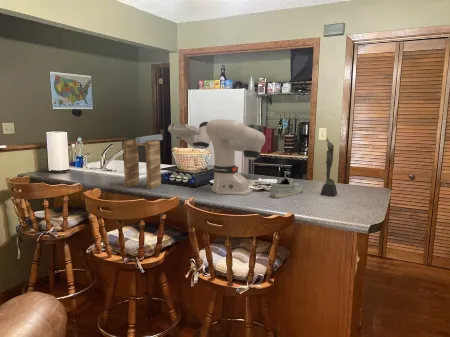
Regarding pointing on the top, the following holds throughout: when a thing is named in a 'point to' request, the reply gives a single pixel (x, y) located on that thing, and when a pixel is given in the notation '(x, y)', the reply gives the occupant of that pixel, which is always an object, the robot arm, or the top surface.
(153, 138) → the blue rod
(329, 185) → the statue
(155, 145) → the oak bridge
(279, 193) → the boat shoe
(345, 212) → the top surface
